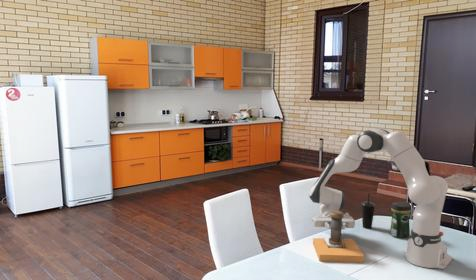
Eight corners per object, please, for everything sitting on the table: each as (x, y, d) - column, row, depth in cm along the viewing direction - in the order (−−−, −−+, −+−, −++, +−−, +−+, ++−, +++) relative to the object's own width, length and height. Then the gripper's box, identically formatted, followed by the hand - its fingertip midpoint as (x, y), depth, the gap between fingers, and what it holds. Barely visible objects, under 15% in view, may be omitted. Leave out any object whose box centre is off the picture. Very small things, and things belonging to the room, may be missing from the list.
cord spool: (334, 239, 194) (335, 210, 192) (345, 243, 189) (346, 213, 187) (326, 242, 190) (327, 212, 188) (336, 246, 185) (338, 216, 183)
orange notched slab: (313, 243, 197) (313, 238, 196) (352, 244, 196) (353, 239, 196) (319, 260, 177) (319, 254, 177) (363, 262, 176) (364, 255, 176)
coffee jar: (402, 232, 214) (404, 199, 212) (412, 237, 206) (414, 203, 204) (387, 233, 211) (388, 200, 209) (396, 239, 204) (398, 204, 201)
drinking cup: (376, 227, 221) (378, 193, 219) (370, 230, 216) (372, 195, 213) (363, 224, 227) (365, 190, 224) (357, 227, 221) (359, 193, 219)
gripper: (311, 211, 201) (315, 220, 187) (351, 212, 200) (358, 221, 186) (310, 223, 202) (314, 233, 188) (350, 224, 201) (357, 234, 187)
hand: (336, 227), depth 187 cm, fingers closed on cord spool, 5 cm apart
